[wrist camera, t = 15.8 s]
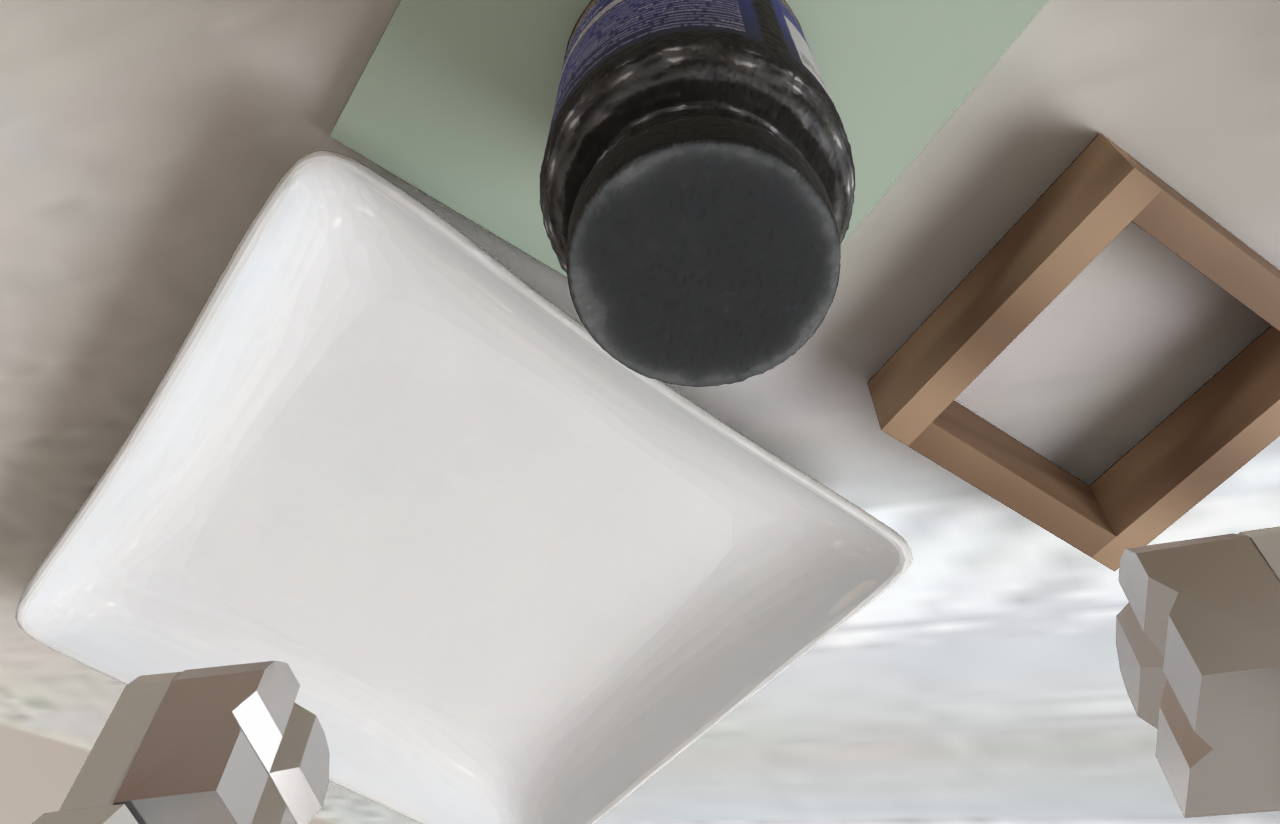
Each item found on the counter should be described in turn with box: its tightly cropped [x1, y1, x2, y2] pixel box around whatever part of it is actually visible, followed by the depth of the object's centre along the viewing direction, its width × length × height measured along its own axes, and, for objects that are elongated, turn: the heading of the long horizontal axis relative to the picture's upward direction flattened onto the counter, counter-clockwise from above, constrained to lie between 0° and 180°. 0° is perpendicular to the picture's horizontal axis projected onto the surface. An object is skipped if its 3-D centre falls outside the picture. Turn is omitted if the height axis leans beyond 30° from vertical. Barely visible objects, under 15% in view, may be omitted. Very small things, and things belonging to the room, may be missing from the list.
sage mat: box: [330, 0, 1048, 277], centre depth 28 cm, size 13×13×1 cm
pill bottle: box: [539, 0, 856, 387], centre depth 23 cm, size 6×6×11 cm
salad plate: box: [16, 151, 913, 824], centre depth 36 cm, size 21×21×3 cm
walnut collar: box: [868, 133, 1280, 571], centre depth 32 cm, size 9×9×2 cm
